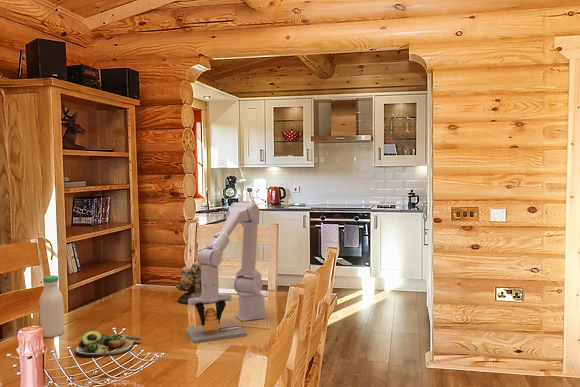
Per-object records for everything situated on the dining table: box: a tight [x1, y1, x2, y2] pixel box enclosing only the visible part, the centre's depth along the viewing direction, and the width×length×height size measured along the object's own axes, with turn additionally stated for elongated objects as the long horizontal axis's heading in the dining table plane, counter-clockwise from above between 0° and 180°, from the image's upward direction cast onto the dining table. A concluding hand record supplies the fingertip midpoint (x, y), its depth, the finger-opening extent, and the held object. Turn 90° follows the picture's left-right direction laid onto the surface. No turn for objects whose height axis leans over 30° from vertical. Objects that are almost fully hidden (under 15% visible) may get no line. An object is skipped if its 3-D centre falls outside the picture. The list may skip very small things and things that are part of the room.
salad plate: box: [74, 329, 143, 358], centre depth 155 cm, size 19×18×5 cm
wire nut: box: [201, 307, 219, 331], centre depth 166 cm, size 5×5×7 cm
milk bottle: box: [38, 275, 65, 338], centre depth 167 cm, size 8×8×20 cm
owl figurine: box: [175, 261, 216, 305], centre depth 210 cm, size 18×12×17 cm, turn 94°
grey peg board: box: [185, 321, 248, 344], centre depth 167 cm, size 18×14×4 cm
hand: (210, 323), depth 166 cm, fingers closed on wire nut, 5 cm apart
